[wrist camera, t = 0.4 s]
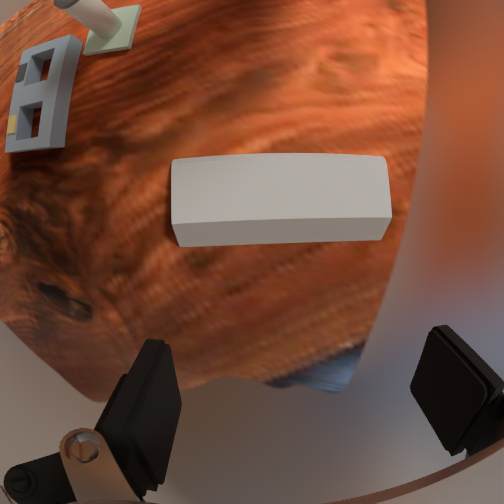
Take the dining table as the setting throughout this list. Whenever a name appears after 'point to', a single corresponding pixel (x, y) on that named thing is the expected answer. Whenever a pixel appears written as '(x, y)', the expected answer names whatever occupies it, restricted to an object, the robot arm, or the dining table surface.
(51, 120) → the socket block
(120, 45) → the square base plate
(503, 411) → the robot arm
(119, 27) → the plug
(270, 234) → the crown molding
